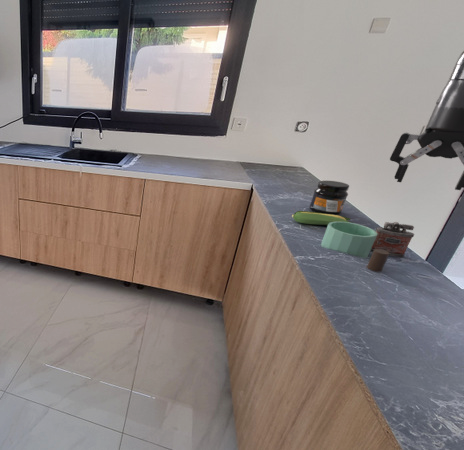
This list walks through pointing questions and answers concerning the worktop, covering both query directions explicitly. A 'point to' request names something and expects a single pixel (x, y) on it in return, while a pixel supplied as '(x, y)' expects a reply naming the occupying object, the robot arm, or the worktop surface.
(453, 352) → the worktop surface
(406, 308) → the worktop surface
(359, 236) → the green faceted pot
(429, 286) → the worktop surface
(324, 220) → the edible corn
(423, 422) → the worktop surface
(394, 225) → the lighter
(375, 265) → the lid
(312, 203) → the supplement container
